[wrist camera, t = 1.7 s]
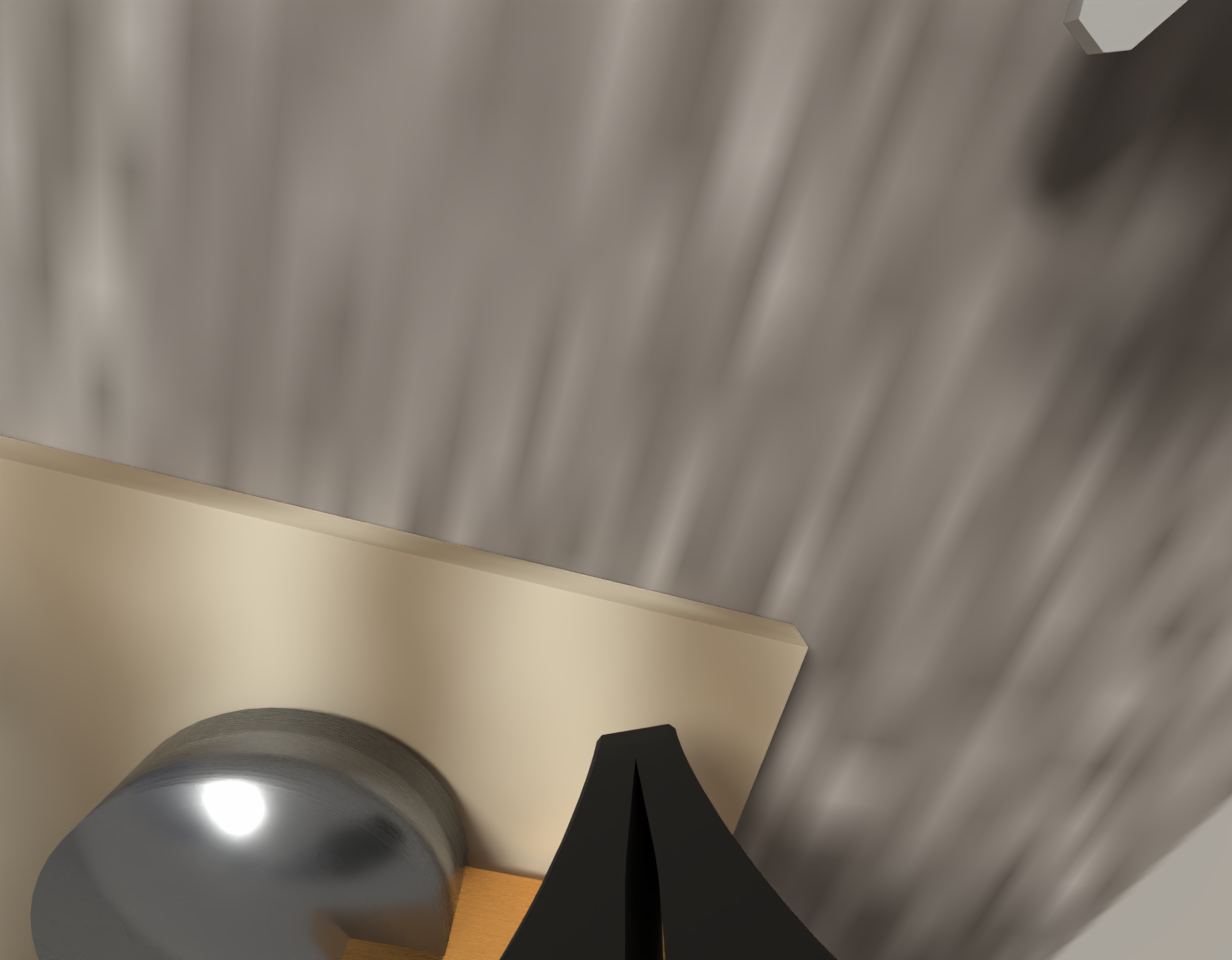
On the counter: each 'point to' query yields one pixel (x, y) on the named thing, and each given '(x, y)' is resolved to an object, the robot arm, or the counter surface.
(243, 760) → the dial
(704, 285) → the counter surface
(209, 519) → the panel
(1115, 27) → the wrench
